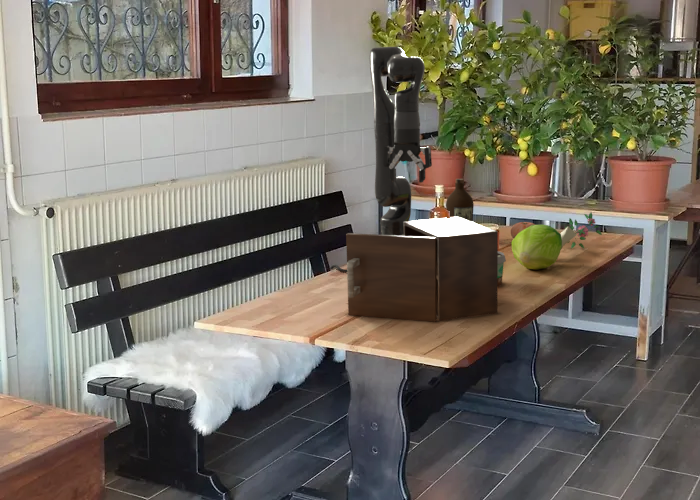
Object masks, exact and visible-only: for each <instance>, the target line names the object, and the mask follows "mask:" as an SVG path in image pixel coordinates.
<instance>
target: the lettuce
mask: <svg viewBox="0 0 700 500" xmlns="http://www.w3.org/2000/svg"><path fill="white" fill-rule="evenodd" d="M560 233H561V232H559V231H558V230H557V229H556V228H554V227H552V226H551V225H549V224H542V223H541V224H535V225H532V226H530V227H528V228H526V229H524V230H523V231H521V232H519V233H518V234H517V235H516V237H515V238H514V239H513V238H512V240H511V251H512V254H513V258H514V259H515V260H516V261H517V262H518V263H519V264H520V265H522V267H524V268H526V269H527V270H535V271H537V270H542V269H543V270H544V269H547V268H550V267H551V266H552V265H554V264H555V263H556V262H557V260H558V259H559V256H560V254H561V250H562V249H563V247H562V238H561V234H560Z"/></svg>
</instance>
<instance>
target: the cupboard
mask: <svg viewBox="0 0 700 500" xmlns="http://www.w3.org/2000/svg"><path fill="white" fill-rule="evenodd" d="M403 223H404V236H419V237H436V278H437V321H439V322H440V321H447V320H448V321H449V320H459V319H465V318H473V317H480V316H489V315H497V314H498V287H497V278H498V251H499V246H498V245H499V231H498V230H495V229H493V228H490V227H487V226H484V225H482V224H478V223H476V222H474V221H473V222H471V221H468V220H465V219H463V218H460V217H450V218H447V217H440V218H429V219H418V220H417V219H416V220H409V221H405V222H403Z"/></svg>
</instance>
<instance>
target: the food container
mask: <svg viewBox="0 0 700 500" xmlns="http://www.w3.org/2000/svg"><path fill="white" fill-rule="evenodd" d="M506 261H507V259H506V255H505V253H504V252H503V251H499V250H498V278H497V288H500V287H501V286H503V275H504V274H503V273H504V265H505V264H504V263H505V262H506Z"/></svg>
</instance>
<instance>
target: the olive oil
mask: <svg viewBox="0 0 700 500" xmlns="http://www.w3.org/2000/svg"><path fill="white" fill-rule="evenodd" d="M464 181H465V179H464V178H455V182H454V186H455V188H454V190H453V191H452V192H451V193H450V194H449V196H447V199H446V202H445V209H446V208H447V209H448V210H449V211H450V217H460V218H463V219H465V220H468V221H471V222H474V205H475V204H474V200H473V197H472V196H471V195H470V194H469V192H467V190H466V189H465V182H464Z"/></svg>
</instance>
